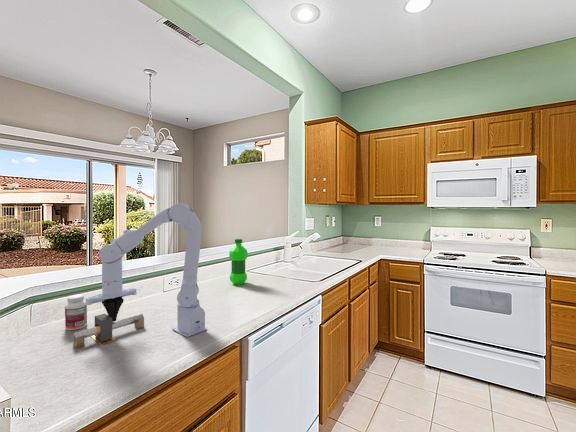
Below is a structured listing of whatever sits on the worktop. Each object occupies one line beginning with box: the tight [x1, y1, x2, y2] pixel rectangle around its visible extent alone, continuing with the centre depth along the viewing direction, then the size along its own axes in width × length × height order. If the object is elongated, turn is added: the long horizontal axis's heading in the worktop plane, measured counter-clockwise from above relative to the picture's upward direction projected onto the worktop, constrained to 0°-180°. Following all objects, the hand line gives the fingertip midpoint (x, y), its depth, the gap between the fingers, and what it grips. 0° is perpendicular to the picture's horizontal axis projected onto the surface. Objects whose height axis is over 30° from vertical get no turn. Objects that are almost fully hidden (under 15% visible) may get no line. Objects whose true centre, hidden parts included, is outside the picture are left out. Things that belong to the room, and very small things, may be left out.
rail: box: [72, 313, 145, 350], centre depth 95 cm, size 20×9×4 cm, turn 142°
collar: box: [94, 313, 113, 341], centre depth 93 cm, size 3×6×7 cm, turn 52°
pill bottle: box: [64, 294, 88, 331], centre depth 101 cm, size 6×6×11 cm
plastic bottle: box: [228, 238, 249, 286], centre depth 161 cm, size 10×10×25 cm
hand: (112, 320), depth 95 cm, fingers closed
